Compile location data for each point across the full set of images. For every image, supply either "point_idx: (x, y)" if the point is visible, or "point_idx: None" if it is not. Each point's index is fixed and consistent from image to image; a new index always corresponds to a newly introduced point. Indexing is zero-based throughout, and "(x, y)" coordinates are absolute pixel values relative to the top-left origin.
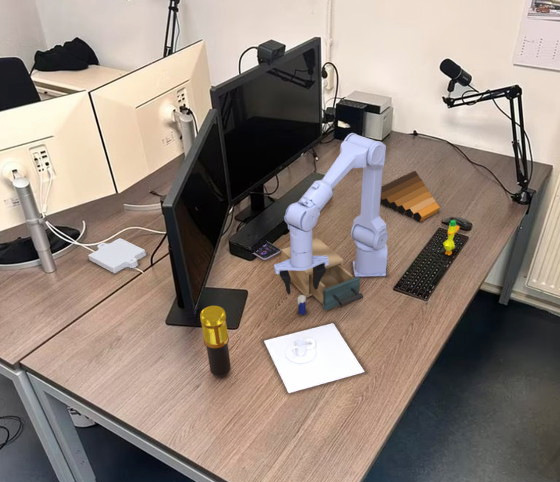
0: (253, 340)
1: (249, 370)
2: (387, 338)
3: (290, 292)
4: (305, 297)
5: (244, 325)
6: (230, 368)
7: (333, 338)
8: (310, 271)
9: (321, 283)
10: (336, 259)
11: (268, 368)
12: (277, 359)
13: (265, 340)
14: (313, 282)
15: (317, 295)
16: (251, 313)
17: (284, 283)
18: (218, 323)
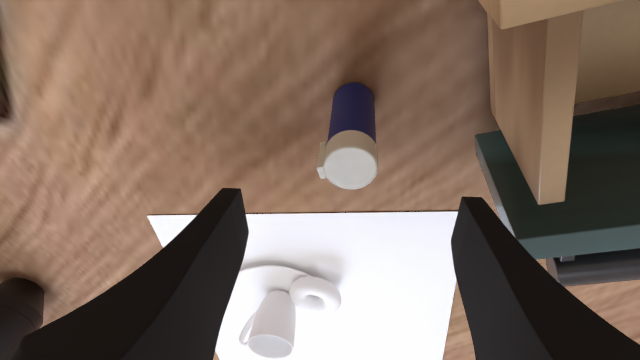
0: (103, 202)
1: None
2: (608, 319)
3: (244, 250)
4: (373, 178)
5: (39, 107)
6: (42, 321)
7: (421, 274)
8: (572, 4)
9: (556, 165)
10: None
11: None
12: None
13: (153, 217)
14: (468, 232)
15: (497, 66)
16: (53, 20)
17: (184, 232)
18: None
